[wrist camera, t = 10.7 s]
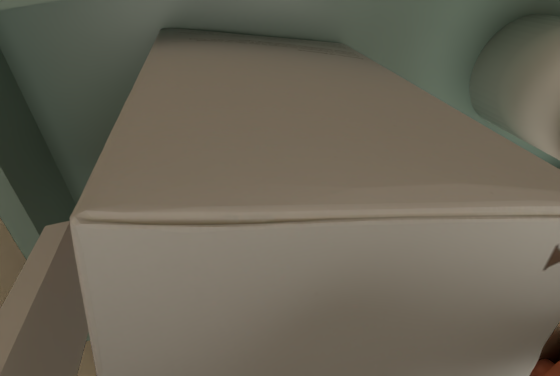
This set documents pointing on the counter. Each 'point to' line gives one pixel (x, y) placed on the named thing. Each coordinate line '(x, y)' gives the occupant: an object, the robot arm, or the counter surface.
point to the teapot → (546, 368)
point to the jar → (522, 81)
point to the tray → (207, 17)
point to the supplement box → (310, 222)
